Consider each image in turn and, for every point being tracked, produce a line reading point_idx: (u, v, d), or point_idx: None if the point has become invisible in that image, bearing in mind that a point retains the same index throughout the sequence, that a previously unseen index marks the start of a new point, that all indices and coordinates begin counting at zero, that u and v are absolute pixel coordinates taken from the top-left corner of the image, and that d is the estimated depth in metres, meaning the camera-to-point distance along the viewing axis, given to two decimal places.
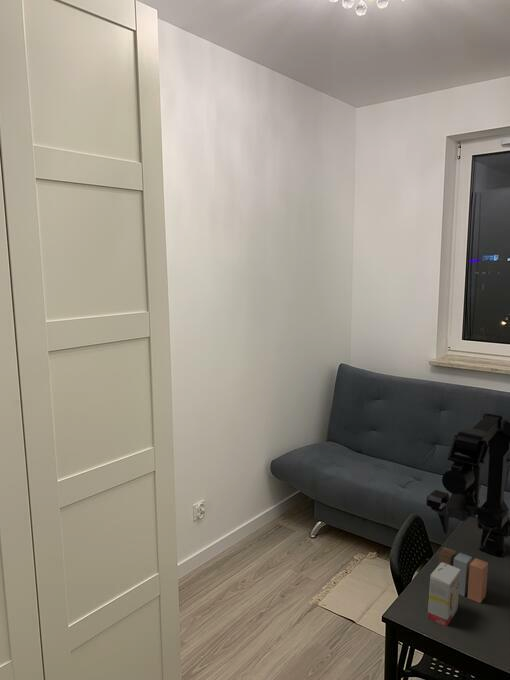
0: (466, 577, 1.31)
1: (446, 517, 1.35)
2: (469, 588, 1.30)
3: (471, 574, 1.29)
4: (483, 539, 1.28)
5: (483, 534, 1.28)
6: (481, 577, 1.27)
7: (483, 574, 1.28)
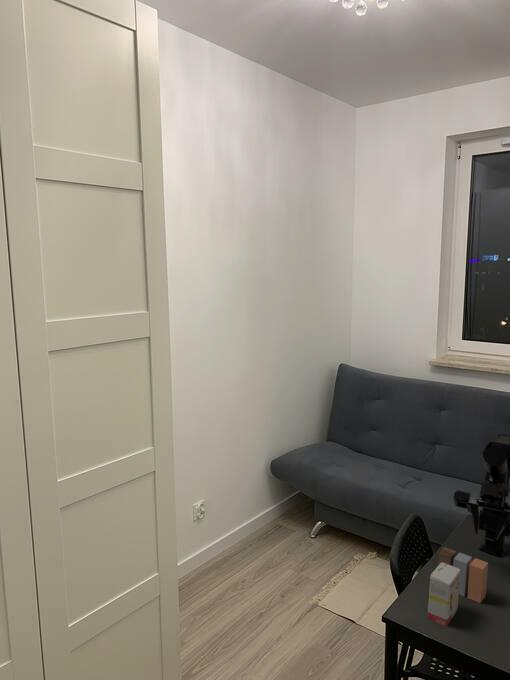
0: (466, 577, 1.31)
1: None
2: (469, 588, 1.30)
3: (471, 574, 1.29)
4: (499, 530, 1.36)
5: (499, 524, 1.36)
6: (481, 577, 1.27)
7: (483, 574, 1.28)
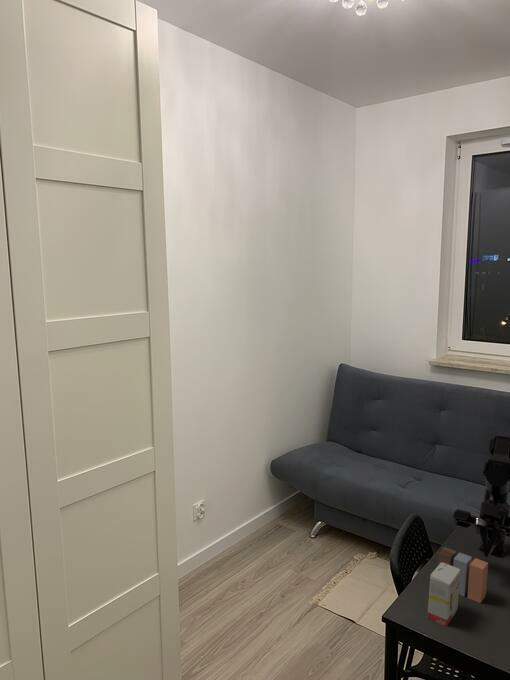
0: (466, 577, 1.31)
1: (487, 541, 1.38)
2: (469, 588, 1.30)
3: (471, 574, 1.29)
4: (489, 548, 1.35)
5: (490, 542, 1.36)
6: (481, 577, 1.27)
7: (483, 574, 1.28)
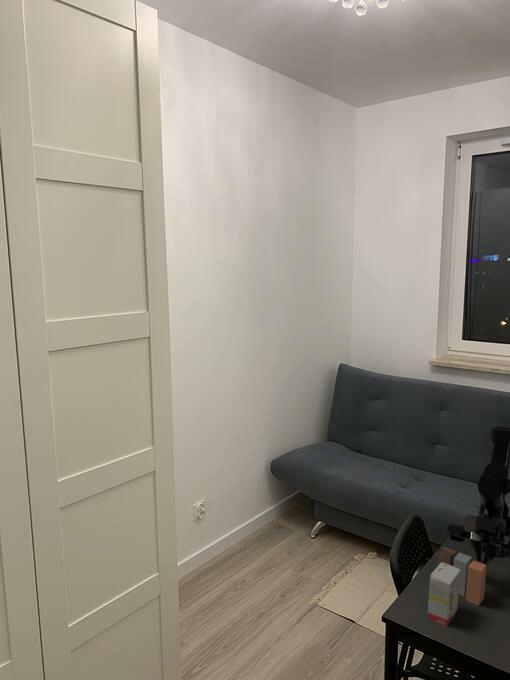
0: (466, 577, 1.31)
1: None
2: (467, 590, 1.29)
3: (469, 576, 1.28)
4: None
5: (485, 558, 1.31)
6: (479, 579, 1.26)
7: (481, 576, 1.27)
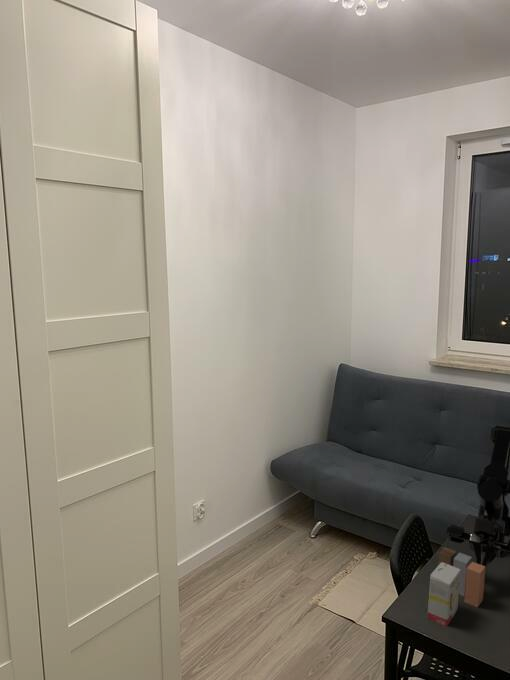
0: None
1: (481, 558, 1.33)
2: (466, 592, 1.28)
3: (468, 578, 1.27)
4: (484, 565, 1.31)
5: (484, 559, 1.31)
6: (478, 581, 1.26)
7: (480, 578, 1.26)
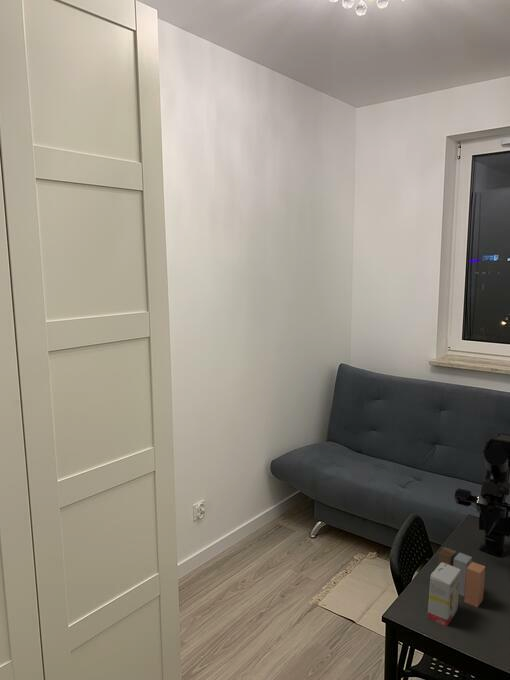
0: None
1: None
2: (466, 592, 1.28)
3: (468, 578, 1.27)
4: (490, 526, 1.38)
5: (491, 520, 1.38)
6: (478, 581, 1.26)
7: (480, 578, 1.26)
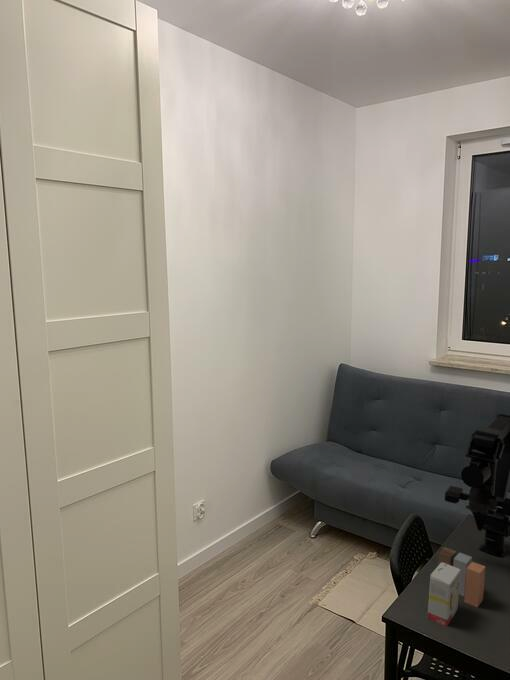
0: None
1: (479, 515, 1.43)
2: (466, 592, 1.28)
3: (468, 578, 1.27)
4: (482, 524, 1.42)
5: (482, 519, 1.41)
6: (478, 581, 1.26)
7: (480, 578, 1.26)
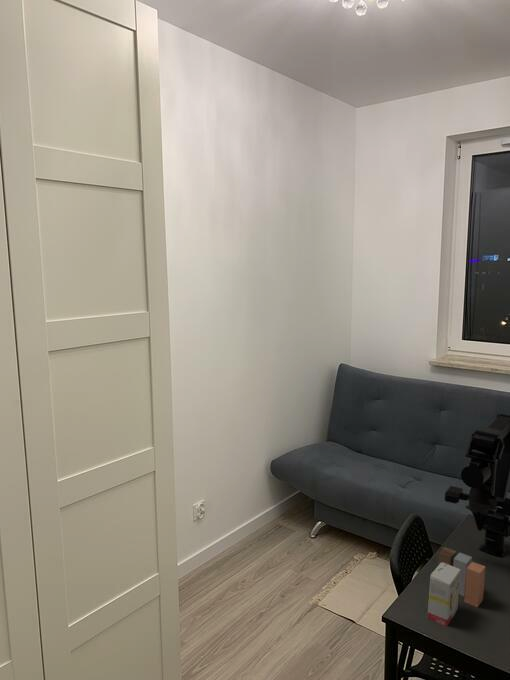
0: None
1: (479, 515, 1.43)
2: (466, 592, 1.28)
3: (468, 578, 1.27)
4: (482, 524, 1.42)
5: (482, 519, 1.41)
6: (478, 581, 1.26)
7: (480, 578, 1.26)
